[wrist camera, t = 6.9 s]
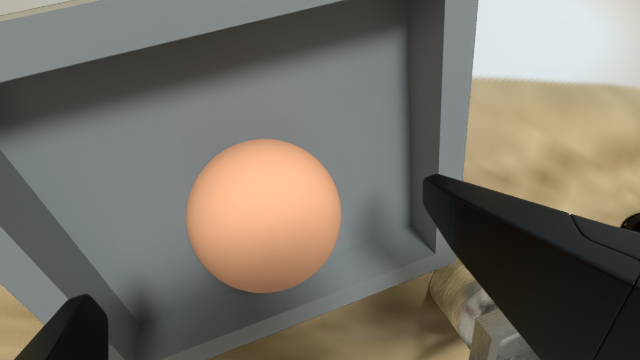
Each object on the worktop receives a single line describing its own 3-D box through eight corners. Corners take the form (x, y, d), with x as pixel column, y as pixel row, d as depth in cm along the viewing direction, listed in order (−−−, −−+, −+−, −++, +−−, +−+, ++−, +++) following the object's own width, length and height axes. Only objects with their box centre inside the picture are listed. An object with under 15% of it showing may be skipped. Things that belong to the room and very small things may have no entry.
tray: (426, -75, 10) (485, -82, 8) (423, 226, 17) (455, 262, 15) (-124, 41, 8) (-228, 70, 6) (128, 334, 15) (118, 394, 13)
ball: (301, 99, 11) (358, 163, 8) (323, 205, 14) (373, 289, 10) (161, 140, 10) (153, 232, 7) (211, 244, 13) (224, 351, 9)
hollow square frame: (520, 218, 19) (608, 287, 15) (505, 286, 23) (574, 357, 19) (424, 254, 18) (491, 338, 14) (423, 320, 22) (477, 402, 18)
